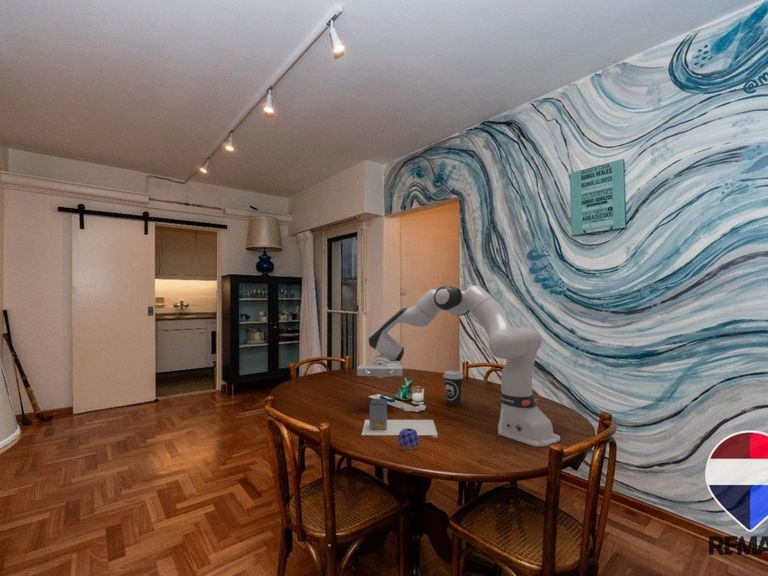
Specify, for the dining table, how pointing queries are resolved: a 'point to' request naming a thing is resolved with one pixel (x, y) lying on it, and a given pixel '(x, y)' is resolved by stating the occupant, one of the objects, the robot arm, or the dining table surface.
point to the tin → (378, 412)
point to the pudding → (408, 439)
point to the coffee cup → (453, 387)
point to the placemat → (403, 427)
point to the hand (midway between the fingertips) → (379, 374)
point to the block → (378, 424)
